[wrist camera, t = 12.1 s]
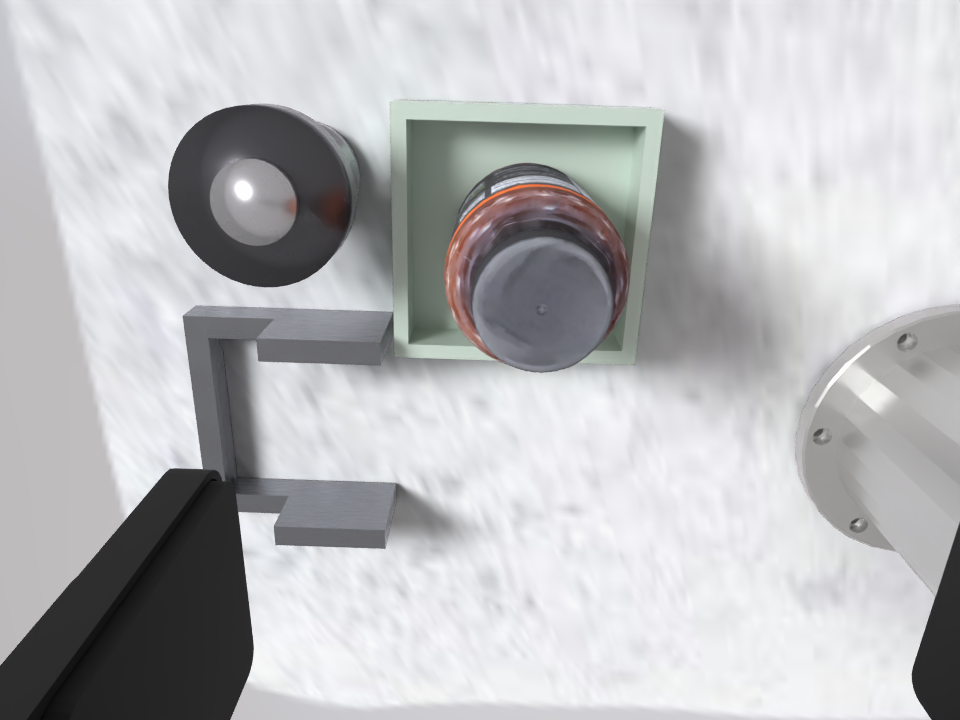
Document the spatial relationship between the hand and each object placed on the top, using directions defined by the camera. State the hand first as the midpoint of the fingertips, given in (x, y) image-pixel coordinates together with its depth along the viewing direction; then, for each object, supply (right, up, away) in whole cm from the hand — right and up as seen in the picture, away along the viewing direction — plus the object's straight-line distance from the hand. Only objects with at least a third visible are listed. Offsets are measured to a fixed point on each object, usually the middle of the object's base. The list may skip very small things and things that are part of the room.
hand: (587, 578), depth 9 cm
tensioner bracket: (-10, +1, +25) cm, 27 cm away
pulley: (-9, +11, +21) cm, 25 cm away
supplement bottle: (+1, +8, +21) cm, 23 cm away
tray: (0, +9, +22) cm, 23 cm away
